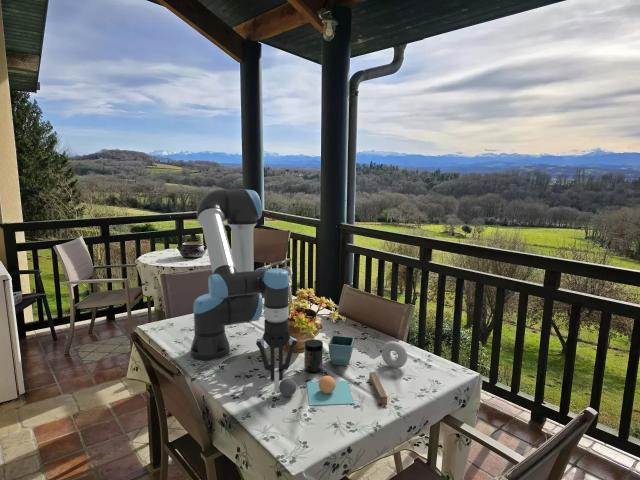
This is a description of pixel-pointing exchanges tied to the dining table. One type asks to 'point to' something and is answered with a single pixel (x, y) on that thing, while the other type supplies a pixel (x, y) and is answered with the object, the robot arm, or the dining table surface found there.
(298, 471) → the dining table surface
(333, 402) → the teal mark
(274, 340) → the robot arm
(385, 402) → the strip
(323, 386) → the object ball
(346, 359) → the flower pot
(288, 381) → the dark grey ball
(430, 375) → the dining table surface
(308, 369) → the supplement container
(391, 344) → the donut
